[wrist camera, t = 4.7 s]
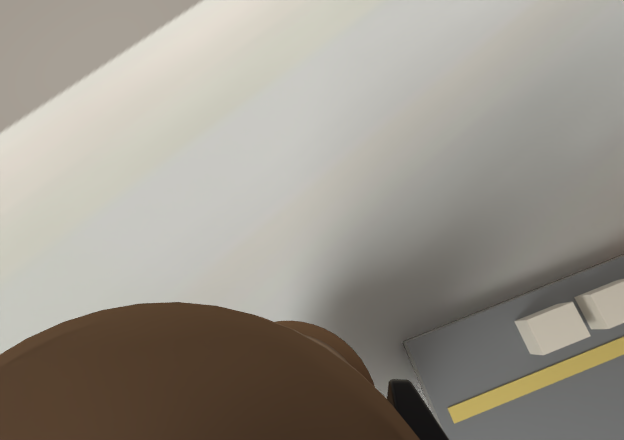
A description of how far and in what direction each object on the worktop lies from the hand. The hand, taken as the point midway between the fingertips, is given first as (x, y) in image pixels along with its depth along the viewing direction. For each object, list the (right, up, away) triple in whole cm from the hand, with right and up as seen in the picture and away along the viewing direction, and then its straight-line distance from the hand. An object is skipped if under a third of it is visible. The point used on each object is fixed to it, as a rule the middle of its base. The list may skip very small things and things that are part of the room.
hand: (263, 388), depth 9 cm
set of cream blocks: (+13, 0, +9) cm, 16 cm away
